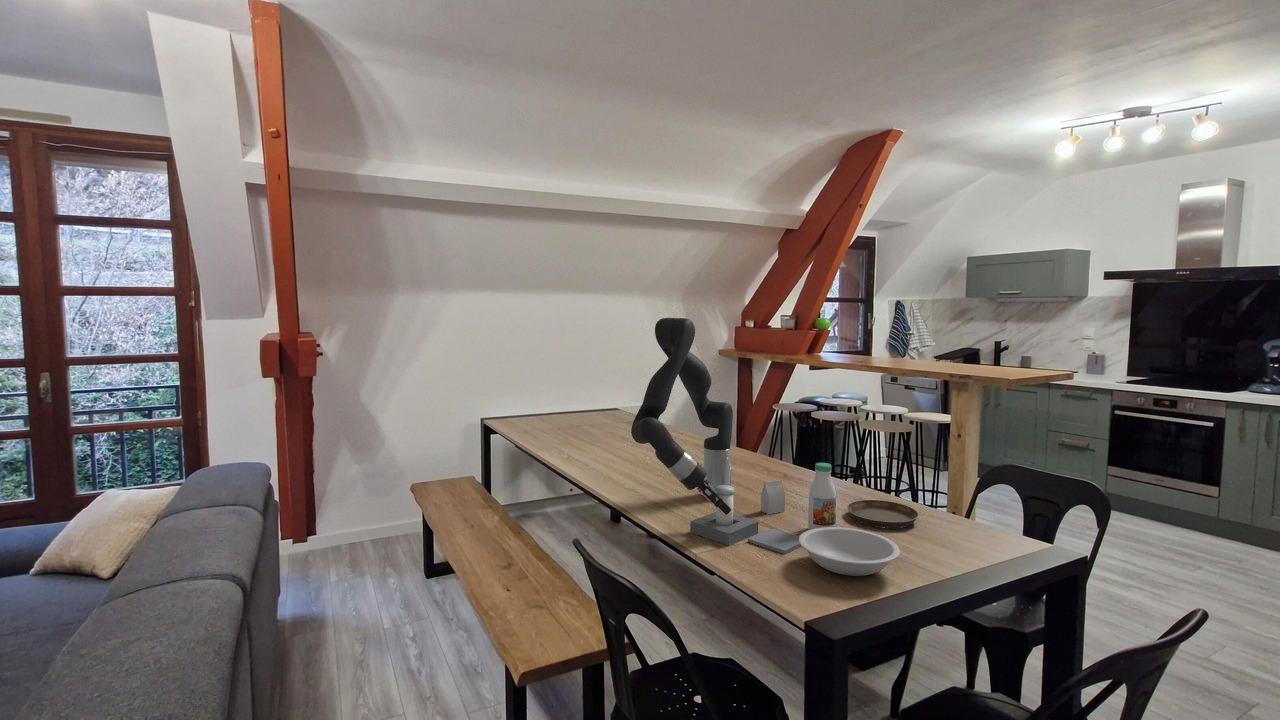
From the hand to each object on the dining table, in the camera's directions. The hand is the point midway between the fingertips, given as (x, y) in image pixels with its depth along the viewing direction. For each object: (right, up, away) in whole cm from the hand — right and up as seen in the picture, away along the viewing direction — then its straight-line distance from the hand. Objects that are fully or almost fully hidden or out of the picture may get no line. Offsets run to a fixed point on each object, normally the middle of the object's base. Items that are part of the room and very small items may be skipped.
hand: (725, 507), depth 178 cm
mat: (+14, -8, -7) cm, 17 cm away
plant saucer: (+51, -7, +13) cm, 53 cm away
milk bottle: (+29, -8, +3) cm, 30 cm away
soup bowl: (+27, -10, -24) cm, 38 cm away
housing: (0, -8, +1) cm, 8 cm away
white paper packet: (+18, -6, +20) cm, 28 cm away
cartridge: (0, -8, +1) cm, 8 cm away
